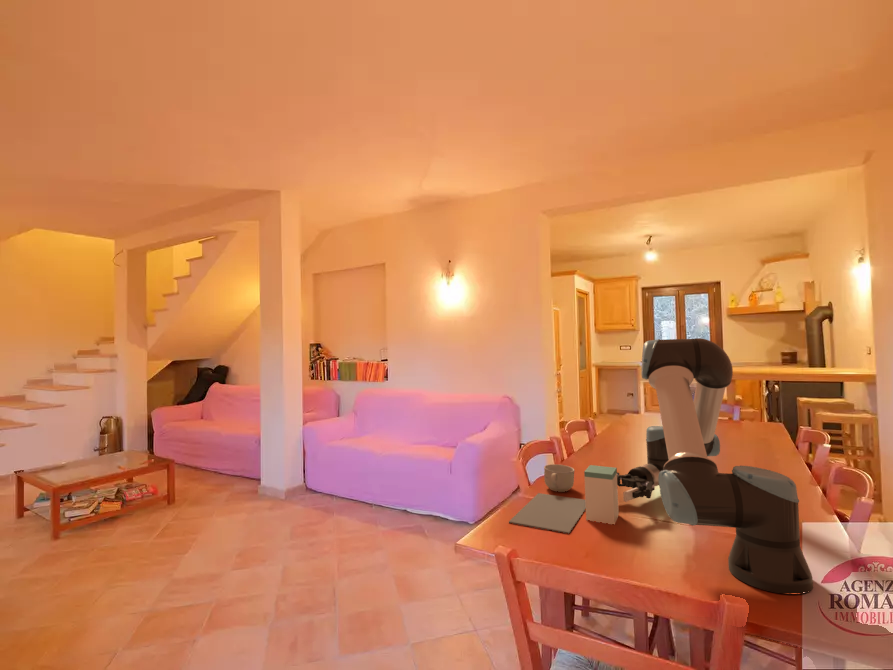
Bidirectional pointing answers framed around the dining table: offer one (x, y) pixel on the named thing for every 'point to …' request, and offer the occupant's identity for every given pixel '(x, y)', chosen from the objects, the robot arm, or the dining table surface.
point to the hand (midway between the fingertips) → (604, 491)
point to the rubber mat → (551, 513)
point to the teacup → (559, 477)
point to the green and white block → (601, 494)
